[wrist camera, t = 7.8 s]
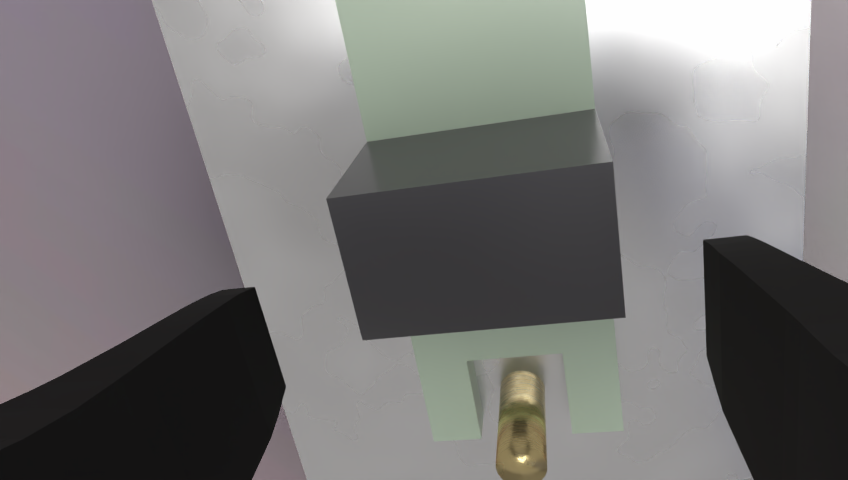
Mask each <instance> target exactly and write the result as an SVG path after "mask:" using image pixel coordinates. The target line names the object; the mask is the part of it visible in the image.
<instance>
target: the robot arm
mask: <svg viewBox="0 0 848 480" xmlns="http://www.w3.org/2000/svg"><path fill="white" fill-rule="evenodd" d="M703 259H704V291H705V323H706V355H707V359H708V363H709V366H710V370H711V373H712V377H713V381H714V384H715V387H716V391H717V394H718V397H719V401H720V404H721V407H722V410H723V413H724V415H725V417H726V420H727V422H728V424H729V427H730V429H731V431H732V433H733V435H734V438H735V440H736V442H737V444H738V447H739V449H740V451H741V453H742V455H743V458H744V460H745V462H746V464H747V466H748V468H749V471H750V473H751V475H752V477H753V479H754V480H848V283H846V282H844V281H842V280H840V279H838V278H836V277H834V276H832V275H830V274H828V273H825V272H823V271H821V270H819V269H817V268H815V267H813V266H811V265H809V264H807V263H805V262H803V261H801V260H799V259H797V258H795V257H793V256H791V255H789V254H787V253H785V252H783V251H781V250H779V249H777V248H775V247H773V246H771V245H769V244H767V243H765V242H763V241H761V240H758V239H756V238H754V237H751V236H748V235H743V236H733V237H724V238H714V239H705V240H703ZM285 389H286V384H285V381H284V378H283V375H282V372H281V368H280V365H279V362H278V359H277V356H276V353H275V349H274V346H273V343H272V340H271V337H270V334H269V330H268V327H267V324H266V321H265V318H264V314H263V311H262V308H261V305H260V302H259V299H258V295H257V292H256V289H255V287H247V288H238V289H228V290H221V291H218V292H216V293H213V294H211V295H208V296H206V297H204V298H202V299H200V300H198V301H196V302H194V303H192V304H190V305H188V306H186V307H184V308H182V309H181V310H179V311H177V312H175V313H173V314H172V315H170V316H168V317H166V318H164V319H163V320H161V321H159V322H157V323H156V324H154V325H152V326H150V327H149V328H147V329H145V330H143V331H142V332H140V333H138V334H136V335H135V336H133V337H131V338H129V339H128V340H126V341H124V342H122V343H121V344H119V345H117V346H115V347H113V348H112V349H110V350H108V351H106V352H104V353H102V354H100V355H99V356H97V357H95V358H93V359H91V360H89V361H87V362H86V363H84V364H82V365H80V366H78V367H76V368H74V369H73V370H71V371H69V372H67V373H65V374H63V375H61V376H59V377H57V378H55V379H53V380H51V381H49V382H47V383H45V384H43V385H41V386H39V387H37V388H35V389H33V390H31V391H29V392H27V393H24V394H22V395H20V396H18V397H16V398H13V399H11V400H9V401H7V402H4V403H2V404H0V480H252V478H253V476H254V473H255V471H256V469H257V467H258V465H259V463H260V461H261V458H262V456H263V454H264V452H265V450H266V448H267V445H268V443H269V441H270V439H271V436H272V433H273V430H274V427H275V424H276V421H277V418H278V415H279V411H280V407H281V404H282V400H283V397H284V393H285Z"/></svg>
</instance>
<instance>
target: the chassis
mask: <svg viewBox="0 0 848 480" xmlns="http://www.w3.org/2000/svg"><path fill="white" fill-rule="evenodd" d="M585 2H586V13H587V24H588V35H589V47H590V58H591V69H592V80H593V92H594V103H595V110H596V113H597V116H598V119H599V122H600V125H601V128H602V131H603V134H604V137H605V139H606V142H607V145H608V148H609V151H610V154H611V157H612V160H613V167H614V180H615V192H616V204H617V217H618V229H619V241H620V254H621V266H622V278H623V290H624V303H625V315H626V318H616V319H614V327H615V338H616V350H617V361H618V372H619V383H620V394H621V406H622V417H623V428H624V431H613V432H595V433H577V434H572V426H571V418H570V410H569V402H568V394H567V386H566V378H565V370H564V362H563V355H562V353H561V354H548V355H536V356H523V357H510V358H497V359H485V360H473V361H474V366H475V371H476V377H477V382H478V387H479V393H480V398H481V404H482V409H483V414H484V416H483V427H482V438H481V439H469V440H451V441H434V439H433V435H432V430H431V426H430V421H429V417H428V412H427V408H426V404H425V399H424V395H423V390H422V386H421V381H420V377H419V372H418V368H417V363H416V359H415V354H414V350H413V346H412V341H411V337H410V336H408V337H397V338H385V339H374V340H362V337H361V333H360V329H359V325H358V321H357V317H356V313H355V309H354V305H353V302H352V298H351V294H350V290H349V286H348V282H347V278H346V274H345V270H344V266H343V263H342V259H341V255H340V251H339V247H338V243H337V239H336V235H335V231H334V227H333V224H332V220H331V216H330V212H329V208H328V204H327V200H326V198H327V197H328V195H329V194H330V193H331V191H332V190H333V188H334V187H335V186H336V184H337V183H338V181H339V180H340V179H341V177H342V176H343V174H344V173H345V172H346V170H347V169H348V168H349V166H350V165H351V163H352V162H353V161H354V159H355V158H356V156H357V155H358V154H359V152H360V151H361V149H362V148H363V147H364V145H365V144H366V142H367V140H366V136H365V131H364V127H363V122H362V118H361V114H360V109H359V105H358V100H357V96H356V91H355V87H354V82H353V78H352V73H351V69H350V64H349V60H348V56H347V51H346V47H345V42H344V38H343V33H342V29H341V24H340V20H339V15H338V11H337V6H336V2H335V0H152V3H153V6H154V9H155V12H156V15H157V18H158V21H159V24H160V28H161V31H162V34H163V37H164V40H165V43H166V46H167V49H168V52H169V55H170V58H171V62H172V65H173V68H174V71H175V74H176V77H177V80H178V83H179V86H180V89H181V92H182V96H183V99H184V102H185V105H186V108H187V111H188V114H189V117H190V120H191V123H192V126H193V130H194V133H195V136H196V139H197V142H198V145H199V148H200V151H201V154H202V157H203V160H204V164H205V167H206V170H207V173H208V176H209V179H210V182H211V185H212V188H213V191H214V194H215V198H216V201H217V204H218V207H219V210H220V213H221V216H222V219H223V222H224V225H225V228H226V232H227V235H228V238H229V241H230V244H231V247H232V250H233V253H234V256H235V259H236V262H237V266H238V269H239V272H240V275H241V278H242V281H243V284H244V287H245V288H247V287H255V289H256V292H257V295H258V299H259V302H260V305H261V308H262V311H263V314H264V318H265V321H266V324H267V327H268V330H269V334H270V337H271V340H272V343H273V346H274V349H275V353H276V356H277V359H278V362H279V365H280V368H281V372H282V375H283V378H284V381H285V384H286V389H285V393H284V397H283V400H282V405H283V408H284V411H285V414H286V417H287V420H288V423H289V426H290V429H291V432H292V435H293V439H294V442H295V445H296V448H297V451H298V454H299V457H300V460H301V463H302V466H303V469H304V473H305V476H306V479H307V480H754V479H753V477H752V475H751V473H750V471H749V468H748V466H747V464H746V462H745V460H744V458H743V455H742V453H741V451H740V449H739V447H738V444H737V442H736V440H735V438H734V435H733V433H732V431H731V429H730V427H729V424H728V422H727V420H726V417H725V415H724V413H723V410H722V407H721V404H720V401H719V397H718V394H717V391H716V387H715V384H714V381H713V377H712V373H711V370H710V366H709V363H708V359H707V355H706V323H705V291H704V259H703V240H705V239H714V238H724V237H733V236H743V235H748V236H751V237H754V238H756V239H758V240H761V241H763V242H765V243H767V244H769V245H771V246H773V247H775V248H777V249H779V250H781V251H783V252H785V253H787V254H789V255H791V256H793V257H795V258H797V259H799V260H801V261H803V242H804V211H805V180H806V149H807V118H808V86H809V55H810V24H811V0H585Z"/></svg>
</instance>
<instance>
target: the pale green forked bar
mask: <svg viewBox="0 0 848 480" xmlns="http://www.w3.org/2000/svg"><path fill="white" fill-rule="evenodd" d="M335 2H336V6H337V11H338V15H339V20H340V24H341V29H342V33H343V38H344V42H345V47H346V51H347V56H348V60H349V64H350V69H351V73H352V78H353V82H354V87H355V91H356V96H357V100H358V105H359V109H360V114H361V118H362V122H363V127H364V131H365V136H366V140H367V142H366V144H365V145H364V147H363V148H362V149H361V151H360V152H359V154H358V155H357V156H356V158H355V159H354V161H353V162H352V163H351V165H350V166H349V168H348V169H347V170H346V172H345V173H344V174H343V176H342V177H341V179H340V180H339V181H338V183H337V184H336V186H335V187H334V188H333V190H332V191H331V193H330V194H329V195H328V197H327V198H326V200H327V204H328V208H329V212H330V216H331V220H332V224H333V227H334V231H335V235H336V239H337V243H338V247H339V251H340V255H341V259H342V263H343V266H344V270H345V274H346V278H347V282H348V286H349V290H350V294H351V298H352V302H353V305H354V309H355V313H356V317H357V321H358V325H359V329H360V333H361V337H362V340H374V339H385V338H397V337H408V336H410V337H411V341H412V346H413V350H414V354H415V359H416V363H417V368H418V372H419V377H420V381H421V386H422V390H423V395H424V399H425V404H426V408H427V412H428V417H429V421H430V426H431V430H432V435H433V439H434V441H451V440H469V439H481V438H482V427H483V416H484V414H483V409H482V404H481V398H480V393H479V387H478V382H477V377H476V371H475V366H474V361H473V360H485V359H497V358H510V357H523V356H536V355H548V354H561V353H562V355H563V362H564V370H565V378H566V386H567V394H568V402H569V410H570V418H571V426H572V434H577V433H595V432H613V431H624V428H623V417H622V406H621V394H620V383H619V372H618V361H617V350H616V338H615V327H614V319H616V318H626V315H625V303H624V290H623V278H622V266H621V254H620V241H619V229H618V217H617V204H616V192H615V180H614V167H613V160H612V157H611V154H610V151H609V148H608V145H607V142H606V139H605V137H604V134H603V131H602V128H601V125H600V122H599V119H598V116H597V113H596V110H595V103H594V92H593V80H592V69H591V58H590V47H589V35H588V24H587V13H586V2H585V0H335Z"/></svg>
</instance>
